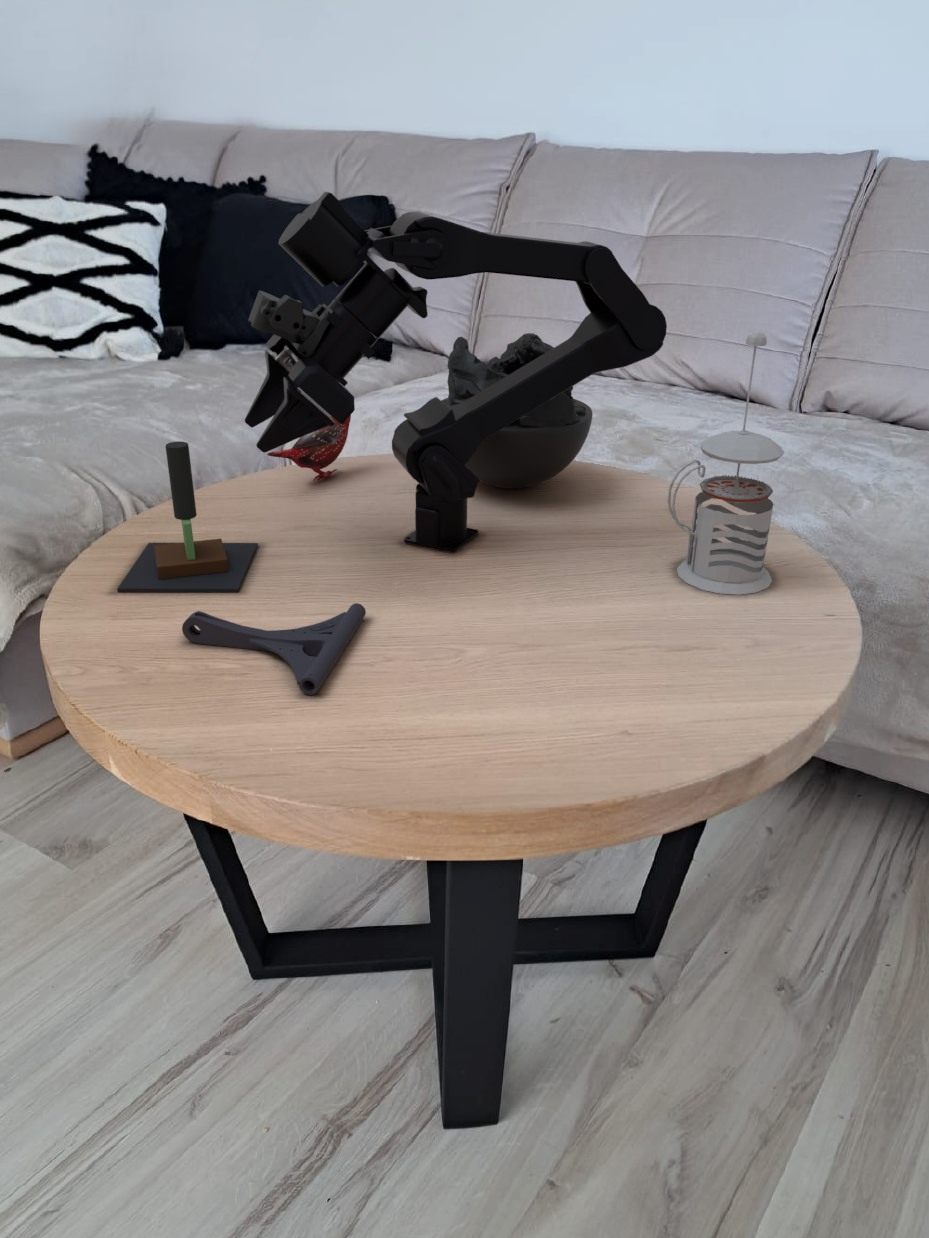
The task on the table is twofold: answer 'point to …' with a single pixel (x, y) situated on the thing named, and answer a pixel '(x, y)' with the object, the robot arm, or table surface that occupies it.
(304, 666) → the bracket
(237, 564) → the mat
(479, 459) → the bowl of black rocks
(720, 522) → the french press
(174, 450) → the rubber stamp
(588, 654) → the table surface
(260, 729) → the table surface
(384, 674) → the table surface
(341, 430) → the decorative bird figurine
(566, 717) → the table surface
